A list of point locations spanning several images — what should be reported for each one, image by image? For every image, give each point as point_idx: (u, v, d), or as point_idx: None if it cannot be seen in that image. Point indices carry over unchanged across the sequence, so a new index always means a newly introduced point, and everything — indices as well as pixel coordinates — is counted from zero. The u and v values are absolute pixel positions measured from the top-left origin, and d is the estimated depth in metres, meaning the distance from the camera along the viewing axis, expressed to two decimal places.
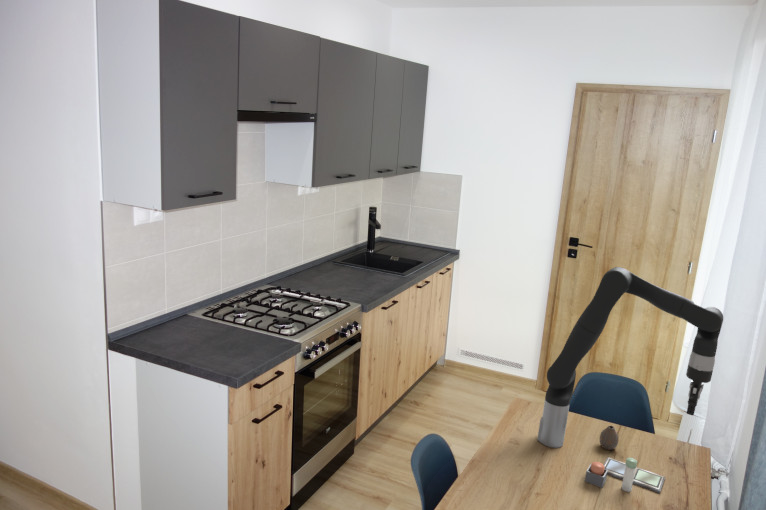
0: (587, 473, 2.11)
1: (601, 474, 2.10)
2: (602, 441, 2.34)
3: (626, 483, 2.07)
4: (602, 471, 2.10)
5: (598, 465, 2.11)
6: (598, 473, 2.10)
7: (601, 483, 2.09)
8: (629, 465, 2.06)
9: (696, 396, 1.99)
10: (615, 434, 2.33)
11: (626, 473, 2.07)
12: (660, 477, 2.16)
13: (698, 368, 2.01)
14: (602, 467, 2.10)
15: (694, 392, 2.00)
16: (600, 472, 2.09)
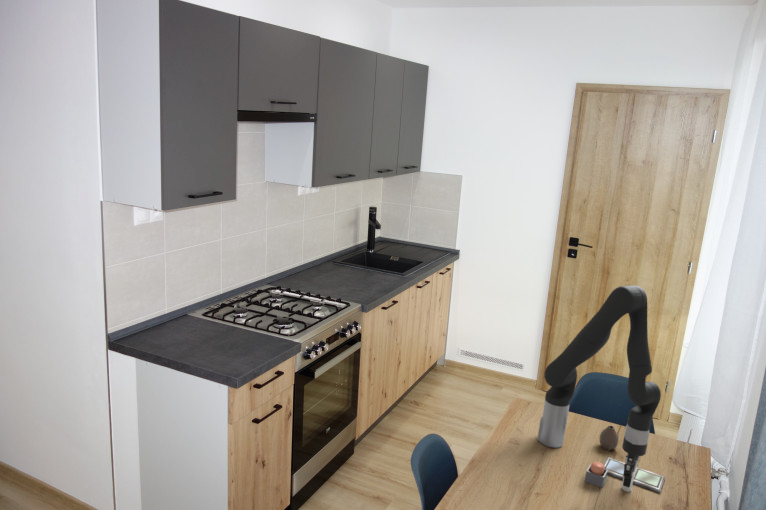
0: (587, 473, 2.11)
1: (601, 474, 2.10)
2: (602, 441, 2.34)
3: None
4: (602, 471, 2.10)
5: (598, 465, 2.11)
6: (598, 473, 2.10)
7: (601, 483, 2.09)
8: None
9: (630, 473, 2.02)
10: (615, 434, 2.33)
11: None
12: (660, 477, 2.16)
13: (632, 442, 2.02)
14: (602, 467, 2.10)
15: (628, 469, 2.02)
16: (600, 472, 2.09)
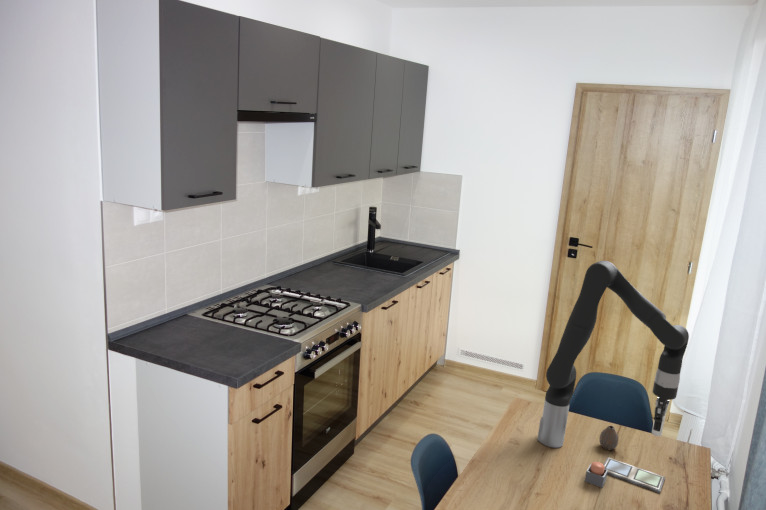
0: (587, 473, 2.11)
1: (601, 474, 2.10)
2: (602, 441, 2.34)
3: None
4: (602, 471, 2.10)
5: (598, 465, 2.11)
6: (598, 473, 2.10)
7: (601, 483, 2.09)
8: None
9: (661, 416, 2.04)
10: (615, 434, 2.33)
11: None
12: (660, 477, 2.16)
13: (663, 385, 2.04)
14: (602, 467, 2.10)
15: (659, 412, 2.04)
16: (600, 472, 2.09)
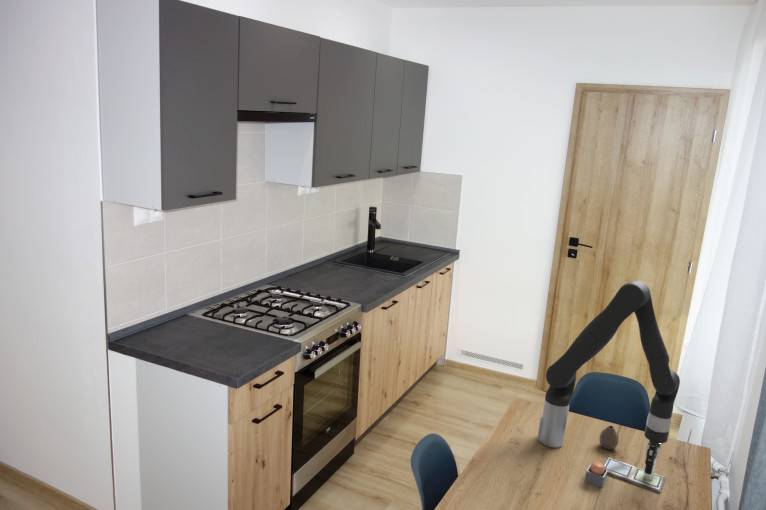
0: (587, 473, 2.11)
1: (601, 474, 2.10)
2: (602, 441, 2.34)
3: None
4: (602, 471, 2.10)
5: (598, 465, 2.11)
6: (598, 473, 2.10)
7: (601, 483, 2.09)
8: None
9: (652, 458, 2.07)
10: (615, 434, 2.33)
11: None
12: (660, 477, 2.16)
13: (655, 429, 2.08)
14: (602, 467, 2.10)
15: (650, 454, 2.07)
16: (600, 472, 2.09)
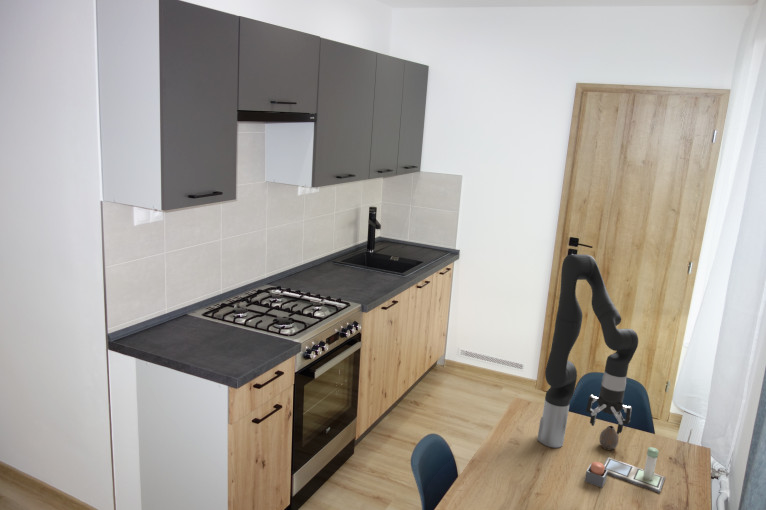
0: (587, 473, 2.11)
1: (601, 474, 2.10)
2: (602, 441, 2.34)
3: (647, 472, 2.13)
4: (602, 471, 2.10)
5: (598, 465, 2.11)
6: (598, 473, 2.10)
7: (601, 483, 2.09)
8: (651, 454, 2.12)
9: None
10: (615, 434, 2.33)
11: (648, 462, 2.13)
12: (660, 477, 2.16)
13: None
14: (602, 467, 2.10)
15: None
16: (600, 472, 2.09)
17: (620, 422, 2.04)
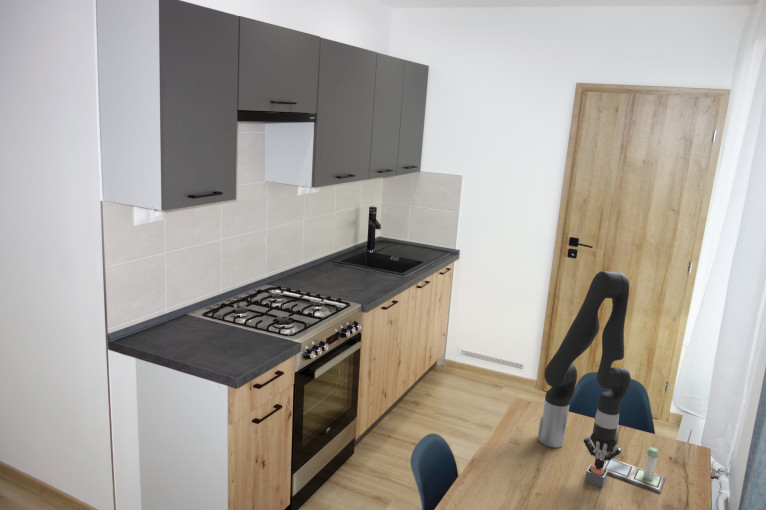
0: (587, 473, 2.11)
1: None
2: None
3: (647, 472, 2.13)
4: (602, 473, 2.10)
5: None
6: None
7: (601, 483, 2.09)
8: (651, 454, 2.12)
9: None
10: None
11: (648, 462, 2.13)
12: (660, 477, 2.16)
13: None
14: (602, 469, 2.10)
15: None
16: (600, 474, 2.10)
17: (601, 458, 2.09)
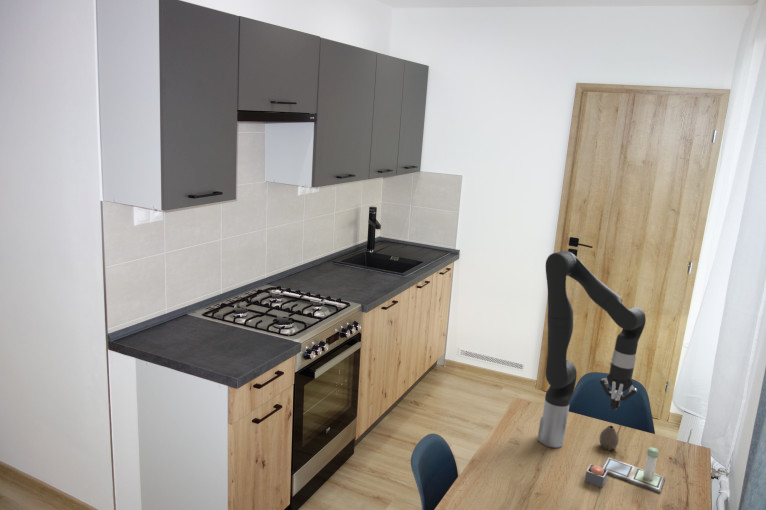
0: (587, 473, 2.11)
1: None
2: (602, 441, 2.34)
3: (647, 472, 2.13)
4: (601, 475, 2.10)
5: (597, 469, 2.12)
6: None
7: (601, 483, 2.09)
8: (651, 454, 2.12)
9: None
10: (615, 434, 2.33)
11: (648, 462, 2.13)
12: (660, 477, 2.16)
13: None
14: (601, 471, 2.11)
15: None
16: (600, 475, 2.10)
17: (617, 398, 2.13)
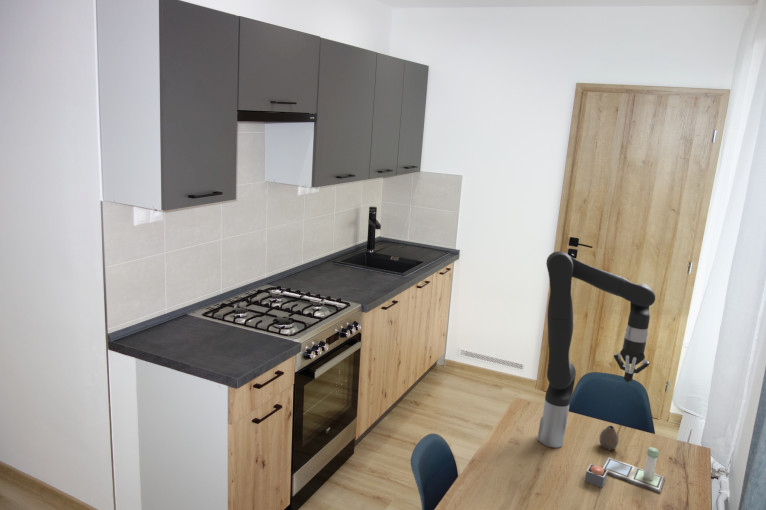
0: (587, 473, 2.11)
1: None
2: (602, 441, 2.34)
3: (647, 472, 2.13)
4: (601, 475, 2.10)
5: (597, 469, 2.12)
6: None
7: (601, 483, 2.09)
8: (651, 454, 2.12)
9: None
10: (615, 434, 2.33)
11: (648, 462, 2.13)
12: (660, 477, 2.16)
13: None
14: (601, 471, 2.11)
15: None
16: (600, 475, 2.10)
17: (630, 371, 2.25)
